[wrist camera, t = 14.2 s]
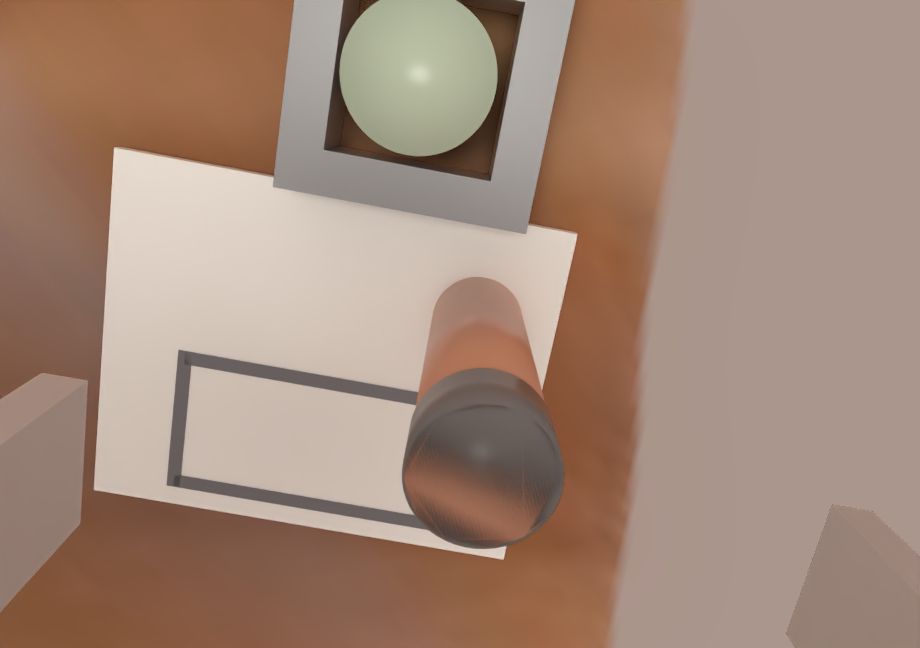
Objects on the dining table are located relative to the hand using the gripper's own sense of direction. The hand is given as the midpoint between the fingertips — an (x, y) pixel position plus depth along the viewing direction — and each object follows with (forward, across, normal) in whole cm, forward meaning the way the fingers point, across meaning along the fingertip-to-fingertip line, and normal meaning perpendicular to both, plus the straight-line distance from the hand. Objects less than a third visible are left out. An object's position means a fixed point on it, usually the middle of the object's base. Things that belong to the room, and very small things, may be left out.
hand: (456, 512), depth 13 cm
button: (+13, -2, +7) cm, 15 cm away
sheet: (+15, -4, -3) cm, 16 cm away
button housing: (+15, -2, +7) cm, 17 cm away
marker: (+14, +1, 0) cm, 14 cm away
